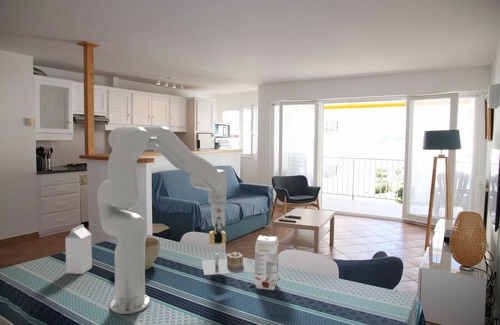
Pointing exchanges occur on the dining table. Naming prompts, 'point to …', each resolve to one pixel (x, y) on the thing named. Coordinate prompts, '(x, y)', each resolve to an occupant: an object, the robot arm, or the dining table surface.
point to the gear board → (223, 266)
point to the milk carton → (78, 251)
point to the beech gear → (235, 260)
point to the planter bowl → (151, 251)
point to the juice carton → (266, 262)
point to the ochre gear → (211, 237)
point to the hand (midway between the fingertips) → (217, 239)
